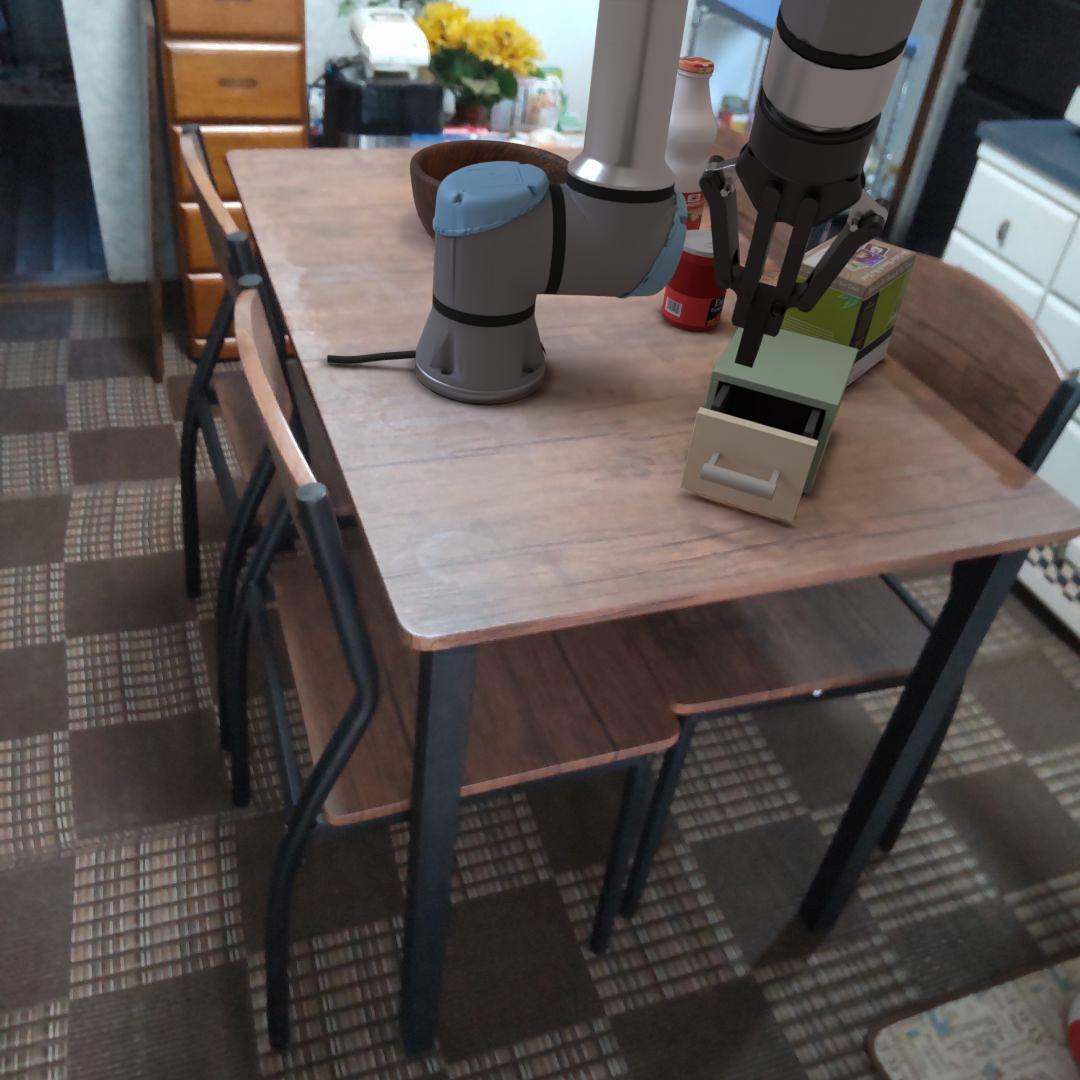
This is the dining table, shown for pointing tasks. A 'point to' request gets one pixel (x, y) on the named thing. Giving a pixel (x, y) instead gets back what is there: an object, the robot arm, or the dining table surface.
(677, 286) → the canned food
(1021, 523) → the dining table surface
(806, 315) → the tea box
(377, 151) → the dining table surface
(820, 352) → the mini drawer cabinet
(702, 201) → the fruit juice
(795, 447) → the cabinet drawer
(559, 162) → the wooden bowl
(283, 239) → the dining table surface
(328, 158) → the dining table surface
